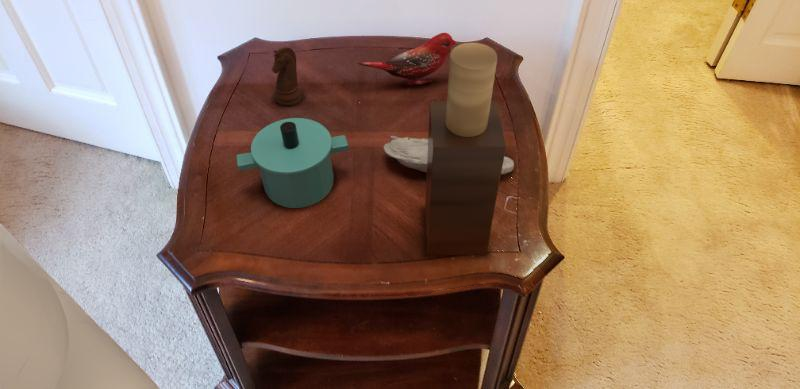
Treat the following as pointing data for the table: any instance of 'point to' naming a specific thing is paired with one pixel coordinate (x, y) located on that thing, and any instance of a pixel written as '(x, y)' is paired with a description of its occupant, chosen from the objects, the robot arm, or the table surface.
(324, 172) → the pot
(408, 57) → the decorative bird figurine
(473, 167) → the pedestal
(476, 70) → the cylinder
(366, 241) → the table surface
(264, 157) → the pot lid
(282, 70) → the chess piece
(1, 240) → the robot arm
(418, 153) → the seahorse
